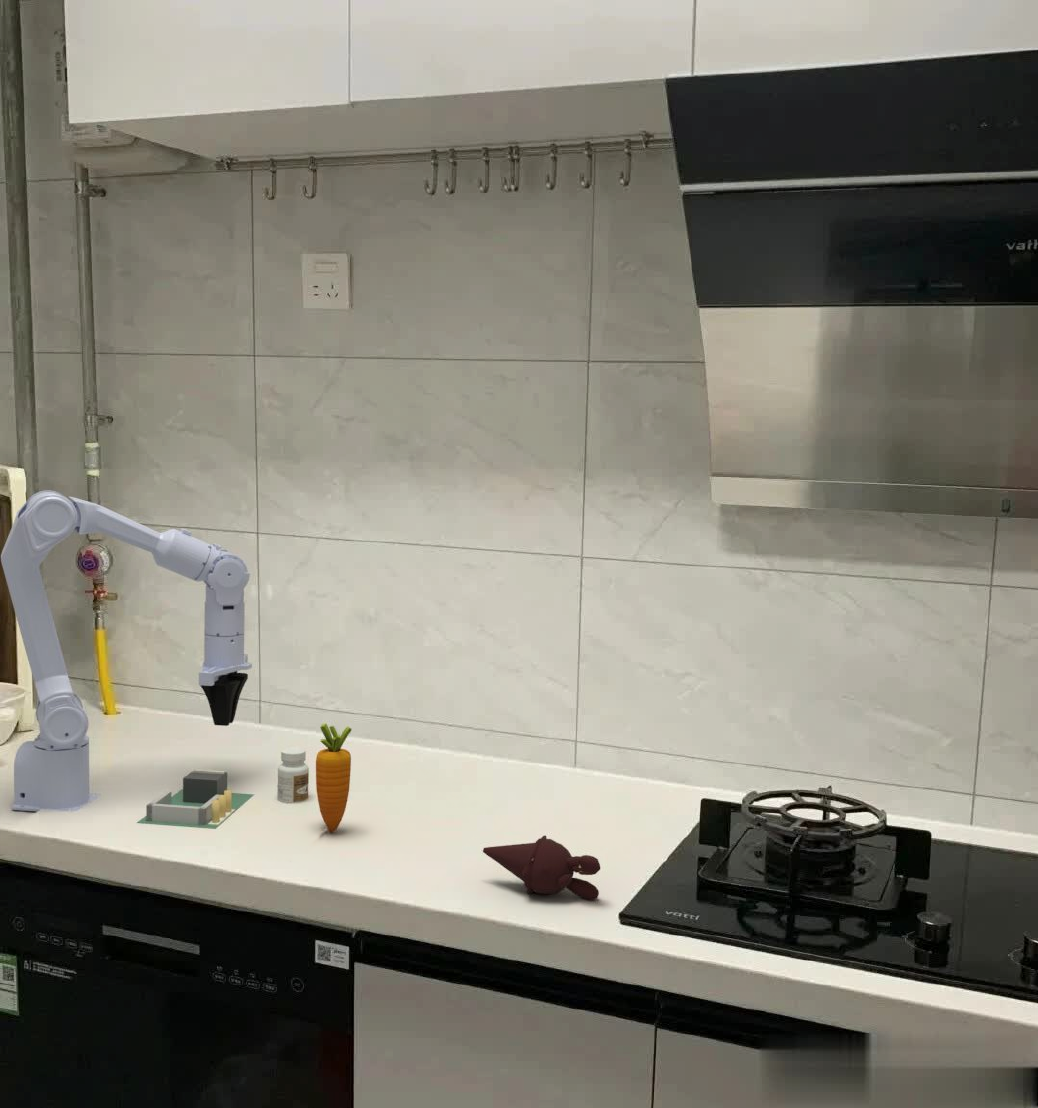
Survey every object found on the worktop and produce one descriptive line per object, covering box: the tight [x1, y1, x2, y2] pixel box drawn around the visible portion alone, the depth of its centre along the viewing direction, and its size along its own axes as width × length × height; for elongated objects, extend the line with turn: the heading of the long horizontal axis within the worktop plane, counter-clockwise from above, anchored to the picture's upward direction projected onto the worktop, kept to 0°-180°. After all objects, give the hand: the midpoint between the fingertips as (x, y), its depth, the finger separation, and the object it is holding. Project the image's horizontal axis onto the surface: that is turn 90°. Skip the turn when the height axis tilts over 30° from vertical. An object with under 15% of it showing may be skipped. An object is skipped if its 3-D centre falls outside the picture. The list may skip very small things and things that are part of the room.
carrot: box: [315, 723, 352, 834], centre depth 156 cm, size 5×5×15 cm
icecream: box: [482, 834, 601, 901], centre depth 139 cm, size 7×7×15 cm
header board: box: [136, 788, 255, 830], centre depth 163 cm, size 11×15×4 cm
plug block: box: [182, 768, 228, 804], centre depth 167 cm, size 5×4×4 cm
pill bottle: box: [277, 746, 310, 804], centre depth 168 cm, size 4×4×8 cm
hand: (223, 723), depth 173 cm, fingers closed
